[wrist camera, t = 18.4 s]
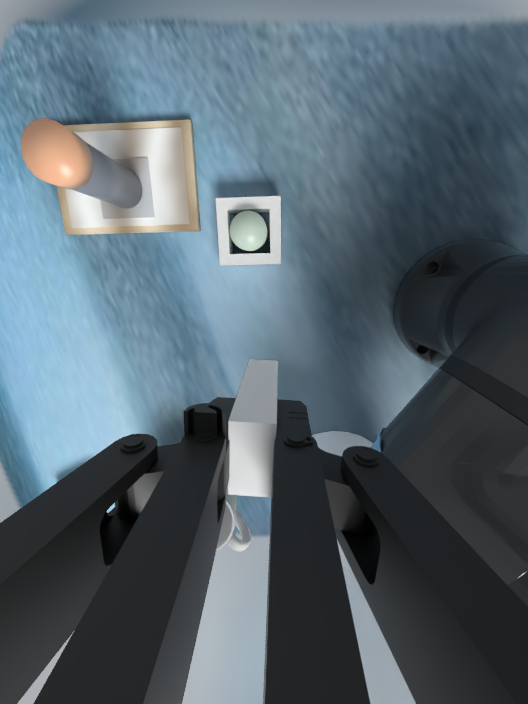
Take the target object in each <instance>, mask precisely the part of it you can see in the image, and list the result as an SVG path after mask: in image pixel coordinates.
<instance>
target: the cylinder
mask: <svg viewBox="0 0 528 704" xmlns="http://www.w3.org/2000/svg"><path fill="white" fill-rule="evenodd" d="M312 437H314V438H315V440H316V442H317V445H318V447H319V448H320V449H322V450H324V451H326V452H328V453H331V454H335V455H339V456H342V454H343V451H344V450H345V449H347V448H348V447H352V446H366V447H371V446H372V445H373V443H372V442H371V441H369V440H367V439H366V438H364V437H362V436H359V435H356V434H353V433H349V432H341V431H328V432H323V433H317V434H314V435H312ZM337 543H338V548H339V553H340V557H341V562H342V567H343V572H344V577H345V582H346V587H347V592H348V597H349V601H350V606H351V611H352V616H353V621H354V626H355V631H356V636H357V641H358V645H359V650H360V655H361V660H362V665H363V670H364V675H365V680H366V685H367V689H368V694H369V699H370V704H416V703H415V701H414V698H413V696H412V694H411V692H410V690H409V688H408V686H407V684H406V682H405V680H404V678H403V676H402V673H401V671H400V669H399V667H398V665H397V663H396V661H395V659H394V657H393V655H392V653H391V651H390V649H389V646H388V644H387V642H386V640H385V638H384V636H383V634H382V632H381V630H380V628H379V626H378V624H377V621H376V619H375V617H374V615H373V613H372V611H371V609H370V607H369V605H368V603H367V601H366V599H365V597H364V594H363V592H362V590H361V588H360V586H359V584H358V582H357V580H356V578H355V576H354V574H353V572H352V569H351V567H350V565H349V563H348V561H347V559H346V557H345V555H344V553H343V551H342V549H341V547H340V545H339V542H338V540H337Z"/></svg>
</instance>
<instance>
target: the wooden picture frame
mask: <svg viewBox="0 0 528 704" xmlns="http://www.w3.org/2000/svg"><path fill="white" fill-rule="evenodd" d="M63 126H65V127H66V128H68V129H69V130H71V131H72V132H74V133H75V134H77V135H78V136H79V137H81V138H82V139H83V140H84V141H85V142H87V143H88V144H90V145H91V146H93V147H94V148H96V149H97V150H99V151H101V152H102V153H104V154H105V155H107V156H108V157H110V158H111V159H113V160H114V161H116V162H117V163H119V164H121V165H122V166H124V167H125V168H127V169H128V170H130V171H131V172H133V173H134V174H135V175H136V176H137V177H138V178H139V180H140V182H141V185H142V197H141V200H140V202H139V203H138V204H137V205H136V206H134V207H132V208H121V207H119V206H116V205H113V204H110V203H107V202H105V201H102V200H99V199H96V198H94V197H91V196H88V195H85V194H83V193H80V192H77V191H74V190H71V189H65V188H62V187H59V186H57V191H58V197H59V202H60V207H61V212H62V217H63V223H64V228H65V233H66V234H68V235H82V234H115V233H148V232H181V231H201V230H200V217H199V204H198V191H197V178H196V165H195V152H194V139H193V126H192V122H191V120H169V121H148V122H126V123H105V124H84V125H63Z"/></svg>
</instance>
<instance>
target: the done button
mask: <svg viewBox="0 0 528 704" xmlns="http://www.w3.org/2000/svg"><path fill="white" fill-rule="evenodd" d="M230 235H231V239H232V241H233V242H234V244H235V245H236V246H238V247H239V248H241V249H243V250H245V251H256V250H258V249H260V248H261V247H262V246H263V245H264V244H265V242H266V240H267V236H268V231H267V226H266V223H265V221H264V219H263V218H262V217H261V216H260V215H259V214H258V213H256V212H254V211H243V212H240V213H239V214H237V215H236V216H235V217H234V218H233V220H232V222H231V225H230Z"/></svg>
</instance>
